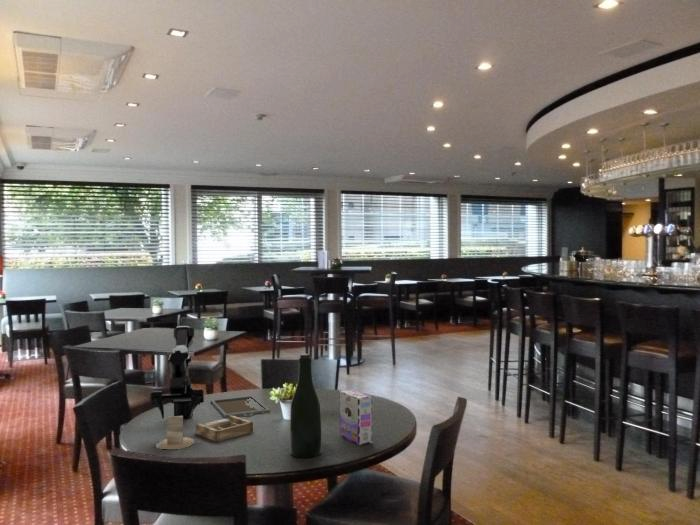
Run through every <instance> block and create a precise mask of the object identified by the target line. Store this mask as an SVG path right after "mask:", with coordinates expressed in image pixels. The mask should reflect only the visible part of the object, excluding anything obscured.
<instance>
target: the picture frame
mask: <svg viewBox="0 0 700 525" xmlns="http://www.w3.org/2000/svg"><path fill="white" fill-rule="evenodd" d="M249 398H251V399H253V400H254V401H255V402H257V403H258V404H259V405H260V406H261V407H263V408H264V409H263V410H257V409H255V408H254V407H253V408H250V406H247V405H245V404H246V403H245V401H246V402H247V403H249V401H250V400H249V401H247V399H249ZM210 403H211V405H212V406H213V408H215V409H216V410H217V412H219V414H221V416H222V417H223V418H224V419H229V416H230V415H232V416H236V417H246V418H249V417H253V416H254V415H258V413H261V414H264V413H263V412H269V413H271V410H270V408H269V407H268V406H266V405H265V404H263V403H262V402H261V401H260V400H259V399H257V398H256V397H254V395H245V396H237V397H236V396H235V397H227V398H219V399H218V398H217V399H211V400H210ZM253 414H254V415H253Z"/></svg>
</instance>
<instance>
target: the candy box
mask: <svg viewBox="0 0 700 525" xmlns="http://www.w3.org/2000/svg"><path fill="white" fill-rule="evenodd" d="M339 433H340V434H339V436H341V437H343V438H344V439H346V440H348V441H350V442H352V443H354V444H356V445H358V446H361V445H362V446H363V445H367V444H372V443H373V397H372V396H371V395H368V394H366V393H362V392H361V391H357V390H355V389H352V388H351V389H345V390H344V389H343V390H339Z"/></svg>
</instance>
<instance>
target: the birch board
mask: <svg viewBox="0 0 700 525" xmlns="http://www.w3.org/2000/svg"><path fill="white" fill-rule="evenodd" d="M166 434H167V435H166V439H167V445H174V444H182V443H183V437H184V419H183V416H174V415H172V416H167V418H166Z"/></svg>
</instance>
